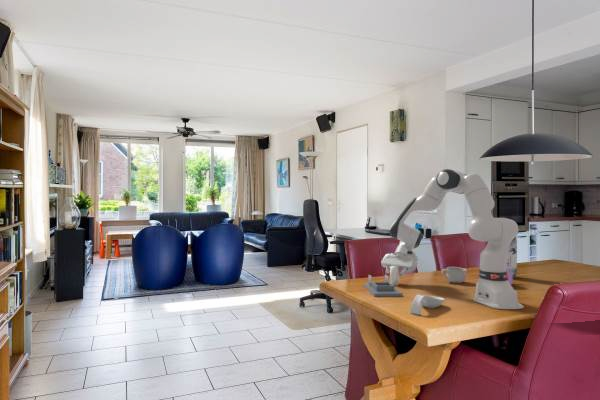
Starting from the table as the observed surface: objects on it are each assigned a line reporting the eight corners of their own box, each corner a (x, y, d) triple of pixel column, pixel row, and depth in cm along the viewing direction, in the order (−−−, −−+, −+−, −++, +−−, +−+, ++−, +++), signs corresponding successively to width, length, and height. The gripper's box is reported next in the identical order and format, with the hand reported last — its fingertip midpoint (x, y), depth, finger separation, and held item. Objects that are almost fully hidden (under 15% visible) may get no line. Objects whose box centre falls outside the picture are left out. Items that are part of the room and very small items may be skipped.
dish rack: (402, 296, 200) (402, 283, 200) (374, 296, 199) (374, 283, 199) (388, 285, 224) (388, 273, 224) (363, 285, 223) (363, 274, 223)
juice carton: (500, 278, 246) (501, 233, 246) (498, 275, 256) (498, 232, 256) (517, 279, 243) (517, 234, 243) (514, 276, 253) (514, 232, 253)
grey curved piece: (422, 301, 191) (422, 286, 191) (448, 305, 184) (448, 289, 184) (402, 312, 172) (402, 295, 172) (430, 317, 165) (430, 300, 165)
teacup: (463, 280, 239) (463, 266, 239) (468, 284, 228) (469, 270, 228) (438, 279, 240) (438, 266, 240) (443, 283, 229) (443, 269, 229)
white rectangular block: (399, 285, 225) (400, 267, 225) (391, 285, 224) (391, 267, 224) (397, 283, 229) (397, 265, 229) (388, 283, 229) (388, 265, 229)
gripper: (384, 249, 239) (375, 268, 232) (417, 252, 225) (408, 272, 218) (388, 256, 242) (379, 275, 235) (420, 259, 228) (412, 279, 221)
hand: (393, 274), depth 226 cm, fingers open, 7 cm apart
